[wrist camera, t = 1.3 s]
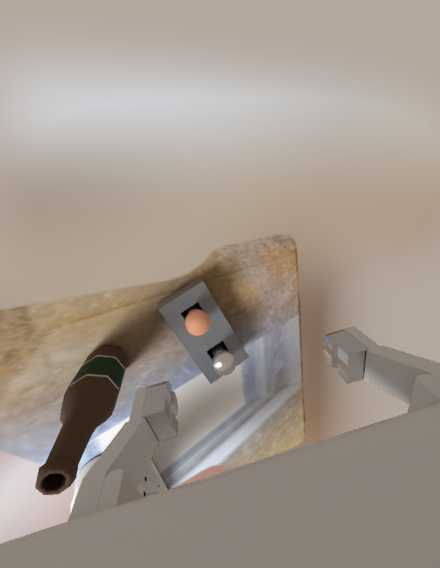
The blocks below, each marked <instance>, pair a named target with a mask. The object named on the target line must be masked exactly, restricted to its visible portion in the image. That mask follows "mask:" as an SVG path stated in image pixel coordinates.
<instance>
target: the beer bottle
mask: <svg viewBox="0 0 440 568" xmlns="http://www.w3.org/2000/svg"><path fill="white" fill-rule="evenodd" d="M127 359H128V357H127V356H126V355H125V354H124V353H123V351H122V350H121V349H120V348H119V347H113V346H102V347H101V348H99V349H98V350H96V351H94V352H93V353H91V354H90V355H89V356H88V358H87V359H86V361H85V362H84V364H83V365H82V367H81V368H80V370H79V371H78V373H77V374H76V376H75V377H74V379H73V381H72V382H71V384H70V385H69V387H68V389H67V390H66V392H65V394H64V399H63V404H62V409H61V416H60V420H61V422H62V424H63V426H62V428H61V430H60V433H59V435H58V437H57V439H56V441H55V444H54V446H53V448H52V450H51V452H50V454H49V457H48V459H47V461H46V463H45V464H44V465H43V466H41V467H40V468H39V472H38V476H37V481H36V489H37V490H39V491H40V492H41V493H42V494H44V495H53V494H59V493H61V492H62V491H64V490H65V489H66V488H68V487H70V486H71V484H72V483H73V481H74V480H75V478H76V474H77V470H78V464H79V462H80V459H81V457H82V455H83V453H84V451H85V448H86V446H87V444H88V442H89V439H90V437H91V435H92V433H93V432H94V430H95V429H96V427H98V426H99V425H101V424H102V423H104V422H105V421H106V420H107V419H108V418H109V417H110V416H111V415H112V413H113V410H114V408H115V405H116V401H117V398H118V394H119V391H120V387H121V384H122V380H123V377H124V373H125V368H126V364H127Z"/></svg>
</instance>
